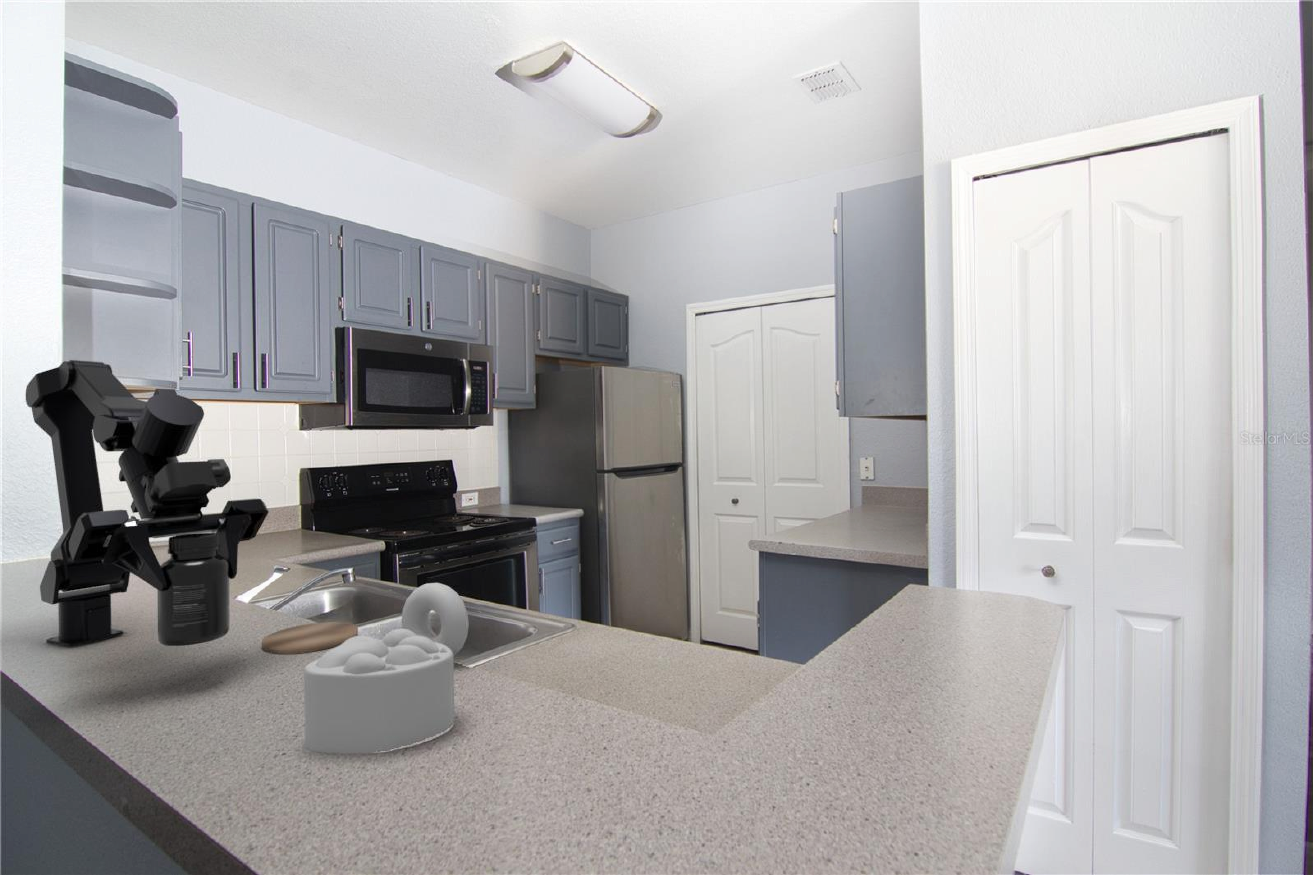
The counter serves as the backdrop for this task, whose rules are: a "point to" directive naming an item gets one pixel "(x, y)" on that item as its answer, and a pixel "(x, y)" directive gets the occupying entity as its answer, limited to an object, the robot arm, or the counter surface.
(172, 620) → the supplement bottle
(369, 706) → the lumpy-topped squat cylinder
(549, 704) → the counter surface
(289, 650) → the walnut trivet
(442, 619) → the donut
